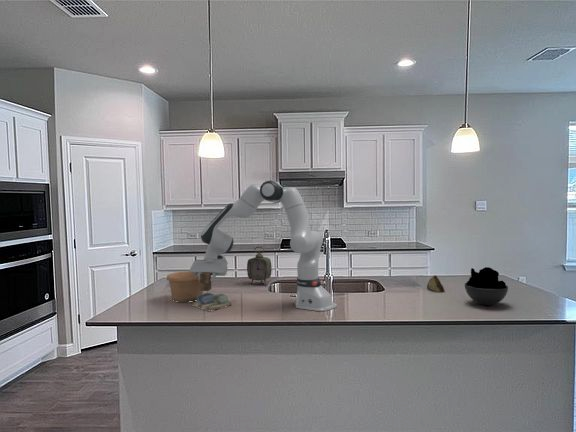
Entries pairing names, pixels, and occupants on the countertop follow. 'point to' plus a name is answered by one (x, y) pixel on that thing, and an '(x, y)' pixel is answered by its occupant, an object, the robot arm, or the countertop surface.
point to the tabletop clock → (259, 267)
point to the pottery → (184, 286)
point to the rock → (435, 284)
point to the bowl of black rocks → (486, 287)
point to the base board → (211, 306)
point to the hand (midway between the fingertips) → (205, 281)
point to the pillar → (205, 282)
